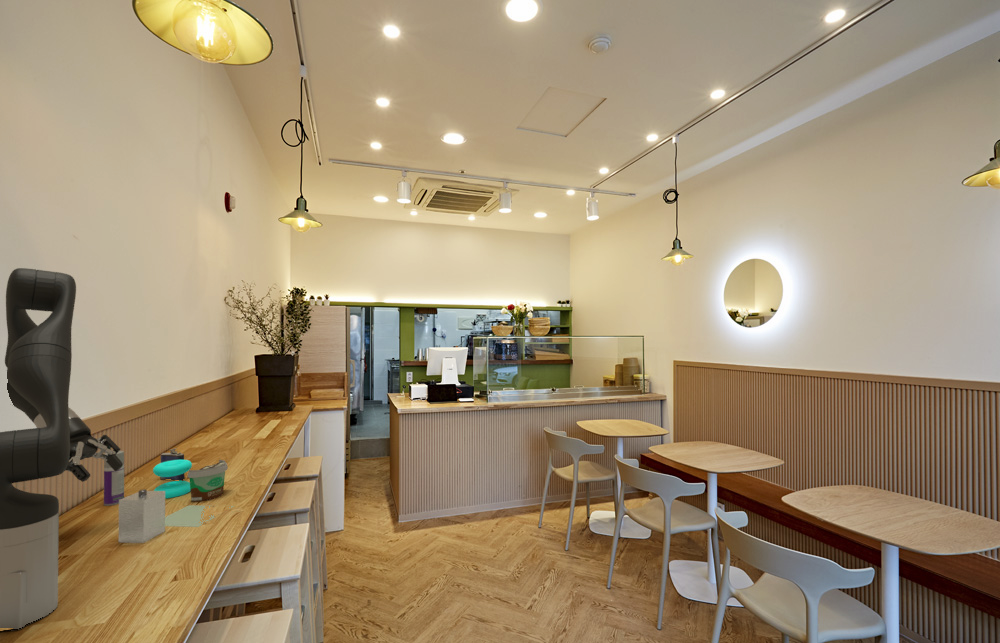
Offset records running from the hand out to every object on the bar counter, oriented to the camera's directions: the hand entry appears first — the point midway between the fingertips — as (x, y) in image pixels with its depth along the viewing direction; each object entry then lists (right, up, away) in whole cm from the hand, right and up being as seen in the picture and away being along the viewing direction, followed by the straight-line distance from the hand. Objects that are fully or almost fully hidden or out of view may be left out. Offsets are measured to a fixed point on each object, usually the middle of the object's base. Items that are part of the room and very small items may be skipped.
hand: (103, 473), depth 114 cm
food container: (+11, -16, +26) cm, 33 cm away
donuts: (-4, -17, +29) cm, 34 cm away
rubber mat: (+15, -16, +12) cm, 24 cm away
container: (-17, -17, +23) cm, 33 cm away
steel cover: (+11, -16, -1) cm, 19 cm away
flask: (-15, -17, +45) cm, 50 cm away
